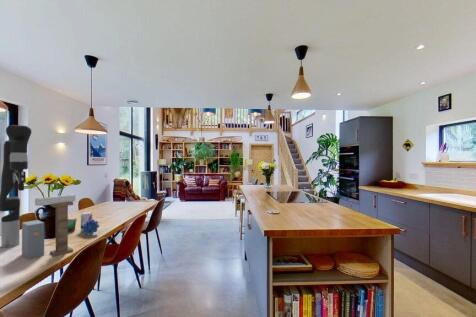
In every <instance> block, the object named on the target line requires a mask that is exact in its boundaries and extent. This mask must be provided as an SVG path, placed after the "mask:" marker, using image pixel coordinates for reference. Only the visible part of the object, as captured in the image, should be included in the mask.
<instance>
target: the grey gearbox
mask: <svg viewBox="0 0 476 317" xmlns="http://www.w3.org/2000/svg"><path fill="white" fill-rule="evenodd" d="M21 255H22V256H23V257H25V258H26V259H28V260H30V259H33V258H39V257H41V256H44V255H45V222H44V221H41V220H39V219H35V220H30V221H23V222H21Z"/></svg>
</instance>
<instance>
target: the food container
mask: <svg viewBox="0 0 476 317" xmlns="http://www.w3.org/2000/svg"><path fill="white" fill-rule="evenodd" d="M77 221H78V219H77V218H72V219H71V218H68V233H69V232H75V231H76V226H77V225H76V224H77Z"/></svg>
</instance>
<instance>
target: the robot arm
mask: <svg viewBox="0 0 476 317" xmlns="http://www.w3.org/2000/svg"><path fill="white" fill-rule="evenodd" d="M5 133H6V135H7V137H8V138H9V140H8V139H7V140H5V141H4V144H3V163H2V171H1V179H0V180H1V185H0V212H10V211H12V212H10V213H9V214H6V215H3V216H2V217H1V221H0V222H1V223H0V224H1V225H0V228H1V230H0V231H1V234H0V235H1V237H0V238H1V239H0V240H1V241H0V243H1V244H0V247H1V248H11V247H15V246H18V245H20V212H21V209H20V208H21V199H20V197H19V196H9V194H10V193H11V192H12V190H15V191H16V190H18V191H20V192H21V191H24V190H25V183H26V182H27V181H26V179H27V178H26V171H24V170H28V169H29V157H28V144H29V140H30V137H31V135H32V129H31V127H30V126H28V125H17V124H10V125H8V126H7V127H6V129H5ZM8 196H9V197H8Z"/></svg>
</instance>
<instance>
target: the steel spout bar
mask: <svg viewBox="0 0 476 317" xmlns="http://www.w3.org/2000/svg"><path fill="white" fill-rule="evenodd" d="M34 202H35V204H34V205H35V206H37V207H38V206H39V207H40V206H47V205H50V204H56V203H64V202H73V203H74V202H76V194H65V195H57V196H56V195H53V196H46V197H38V198H37V197H36V198H35V199H34Z"/></svg>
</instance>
